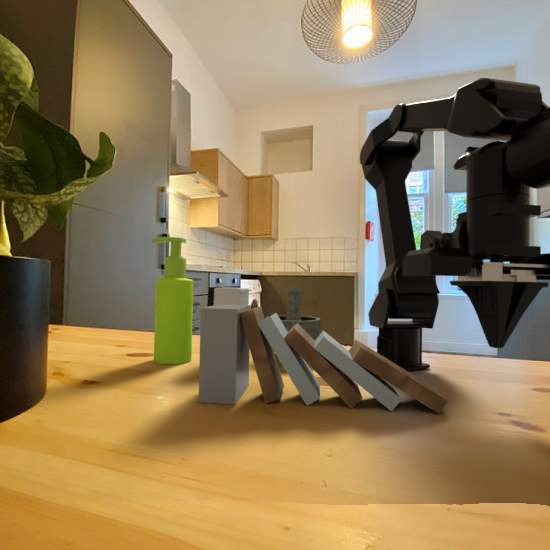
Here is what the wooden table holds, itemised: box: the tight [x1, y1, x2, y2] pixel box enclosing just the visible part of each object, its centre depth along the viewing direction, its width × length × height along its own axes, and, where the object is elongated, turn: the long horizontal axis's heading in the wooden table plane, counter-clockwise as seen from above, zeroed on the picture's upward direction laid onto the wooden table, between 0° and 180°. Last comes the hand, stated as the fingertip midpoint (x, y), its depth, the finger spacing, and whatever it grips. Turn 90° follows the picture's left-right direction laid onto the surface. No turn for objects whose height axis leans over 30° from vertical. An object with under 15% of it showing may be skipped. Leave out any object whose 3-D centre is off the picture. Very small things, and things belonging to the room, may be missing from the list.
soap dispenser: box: [150, 236, 194, 365], centre depth 57 cm, size 6×7×20 cm
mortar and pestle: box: [264, 287, 322, 361], centre depth 61 cm, size 11×9×12 cm
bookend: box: [198, 304, 251, 405], centre depth 40 cm, size 4×7×10 cm, turn 173°
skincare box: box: [213, 287, 250, 306], centre depth 57 cm, size 6×4×12 cm
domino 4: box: [314, 330, 403, 412], centre depth 38 cm, size 2×5×10 cm
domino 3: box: [284, 323, 363, 409], centre depth 39 cm, size 2×5×10 cm
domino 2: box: [258, 312, 321, 406], centre depth 39 cm, size 2×5×10 cm
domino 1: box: [240, 305, 285, 404], centre depth 40 cm, size 2×5×10 cm, turn 173°
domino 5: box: [348, 339, 449, 415], centre depth 38 cm, size 2×5×10 cm
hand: (495, 347), depth 37 cm, fingers closed
